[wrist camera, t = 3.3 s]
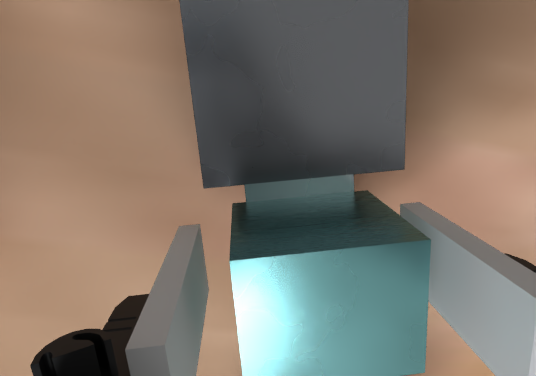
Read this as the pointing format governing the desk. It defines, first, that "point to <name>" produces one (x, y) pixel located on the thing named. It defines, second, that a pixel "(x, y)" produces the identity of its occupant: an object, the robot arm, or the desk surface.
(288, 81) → the grey rectangular block
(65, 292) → the desk surface
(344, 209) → the teal-ended white column
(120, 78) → the desk surface
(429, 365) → the desk surface
